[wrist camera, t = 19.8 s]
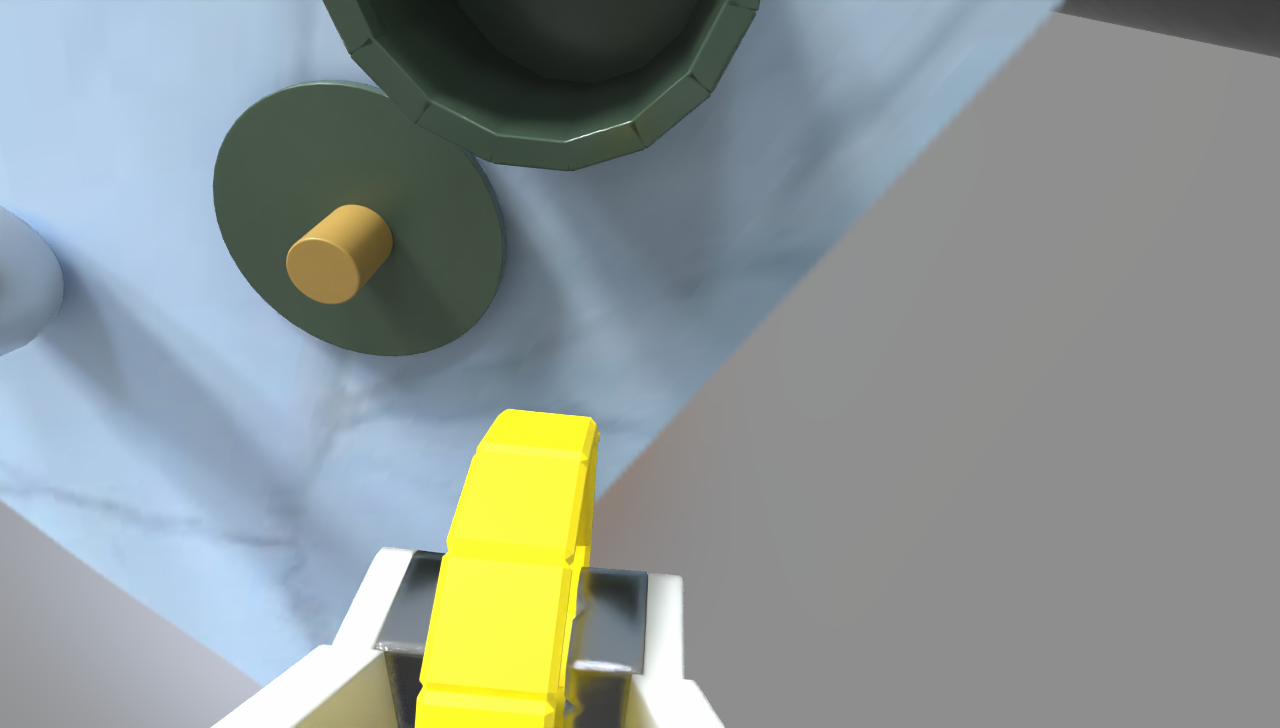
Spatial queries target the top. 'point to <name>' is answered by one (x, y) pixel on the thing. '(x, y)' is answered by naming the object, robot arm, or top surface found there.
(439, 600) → the watch
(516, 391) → the top surface
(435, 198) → the tin lid
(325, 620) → the top surface
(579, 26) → the tin
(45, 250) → the plastic bottle
